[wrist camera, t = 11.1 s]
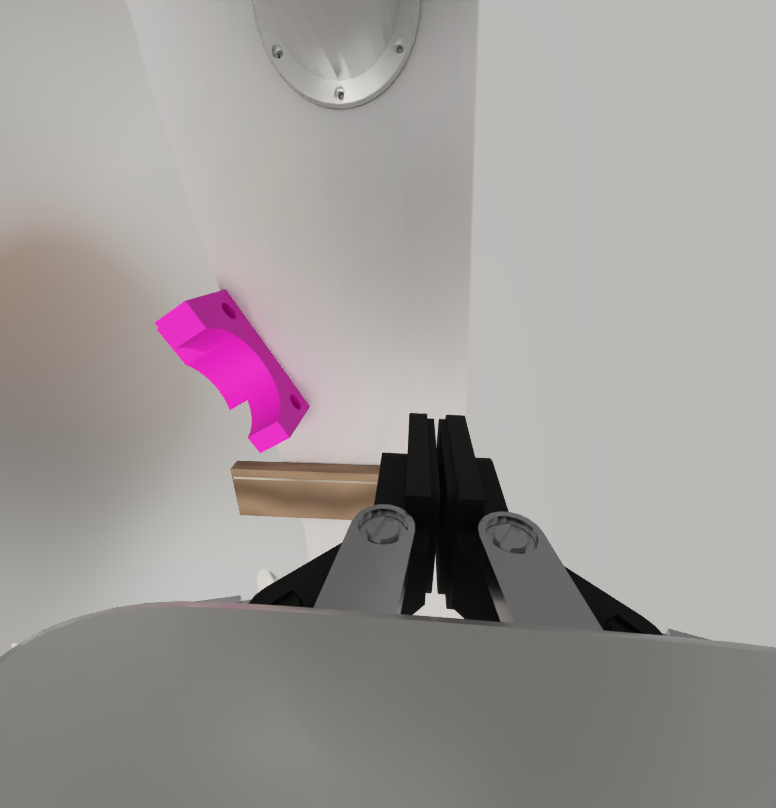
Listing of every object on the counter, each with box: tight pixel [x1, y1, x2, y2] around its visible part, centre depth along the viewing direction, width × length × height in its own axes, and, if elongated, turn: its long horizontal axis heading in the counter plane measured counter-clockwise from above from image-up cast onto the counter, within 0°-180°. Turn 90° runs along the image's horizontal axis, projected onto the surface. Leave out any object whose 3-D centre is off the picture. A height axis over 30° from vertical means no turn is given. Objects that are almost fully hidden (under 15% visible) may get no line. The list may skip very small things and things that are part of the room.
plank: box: [231, 461, 380, 520], centre depth 47 cm, size 7×18×2 cm, turn 91°
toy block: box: [155, 290, 310, 453], centre depth 39 cm, size 15×6×8 cm, turn 31°
